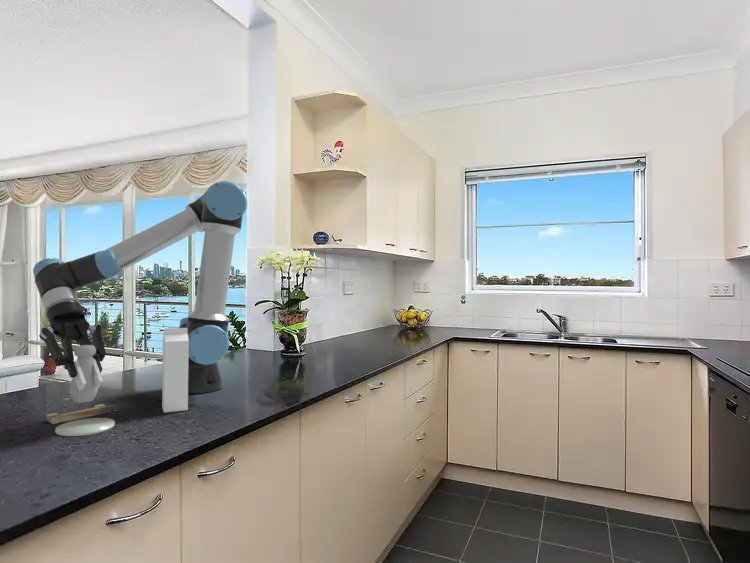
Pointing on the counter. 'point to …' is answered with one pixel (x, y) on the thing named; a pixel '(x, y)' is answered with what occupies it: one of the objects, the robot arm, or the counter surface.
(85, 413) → the oak holder
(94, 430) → the disc
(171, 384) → the milk
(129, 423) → the counter surface
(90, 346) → the salt shaker
